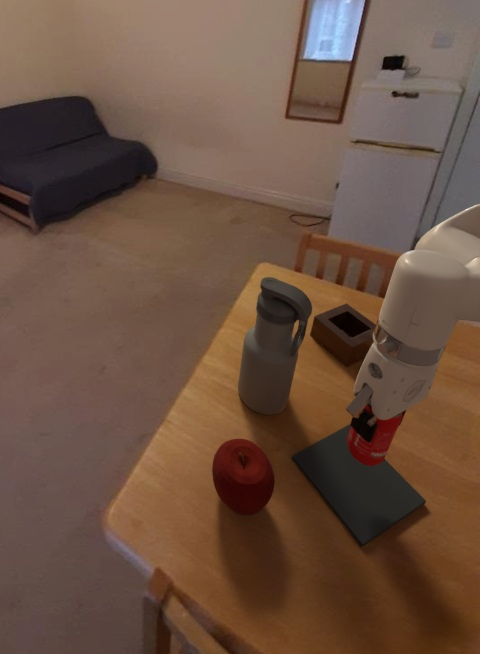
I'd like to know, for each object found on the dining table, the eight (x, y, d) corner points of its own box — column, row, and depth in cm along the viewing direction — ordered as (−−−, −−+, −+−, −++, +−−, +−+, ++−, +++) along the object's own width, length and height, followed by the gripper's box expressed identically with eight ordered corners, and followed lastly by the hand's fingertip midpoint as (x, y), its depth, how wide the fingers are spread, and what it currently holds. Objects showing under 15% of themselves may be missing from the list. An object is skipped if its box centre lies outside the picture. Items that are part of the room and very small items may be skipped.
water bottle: (296, 391, 83) (321, 284, 71) (279, 428, 76) (303, 316, 64) (249, 366, 89) (264, 263, 76) (229, 398, 82) (242, 290, 70)
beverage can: (350, 464, 63) (369, 414, 57) (342, 432, 67) (358, 383, 62) (387, 472, 62) (410, 422, 56) (376, 439, 66) (396, 390, 61)
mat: (349, 427, 76) (350, 423, 75) (424, 504, 64) (426, 501, 64) (291, 458, 71) (292, 455, 71) (361, 548, 60) (362, 544, 59)
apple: (279, 492, 67) (288, 456, 62) (252, 545, 60) (259, 509, 56) (228, 453, 73) (233, 417, 68) (198, 497, 66) (201, 461, 62)
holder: (341, 321, 100) (346, 303, 97) (379, 351, 91) (386, 332, 89) (310, 335, 96) (314, 316, 94) (346, 367, 88) (352, 347, 85)
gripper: (389, 383, 47) (355, 474, 55) (480, 337, 53) (437, 425, 61) (336, 339, 54) (312, 426, 62) (422, 301, 59) (390, 385, 67)
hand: (375, 424), depth 61 cm, fingers closed on beverage can, 5 cm apart
